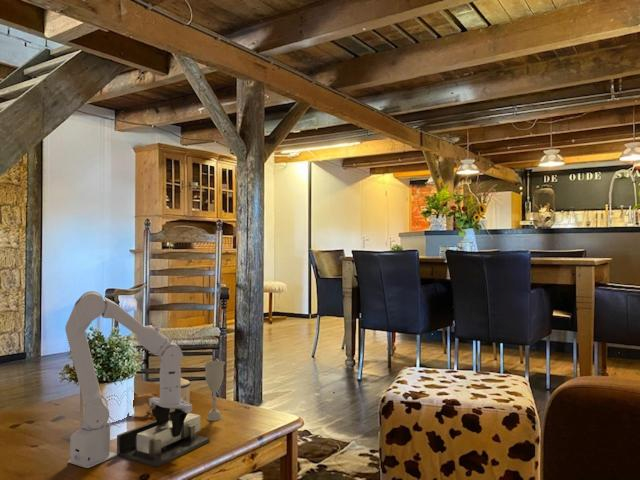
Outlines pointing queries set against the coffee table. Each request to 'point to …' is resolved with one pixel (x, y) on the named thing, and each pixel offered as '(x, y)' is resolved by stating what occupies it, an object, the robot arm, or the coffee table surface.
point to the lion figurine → (143, 400)
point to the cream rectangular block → (165, 433)
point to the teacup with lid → (184, 391)
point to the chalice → (214, 384)
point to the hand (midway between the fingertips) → (170, 434)
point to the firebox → (157, 446)
